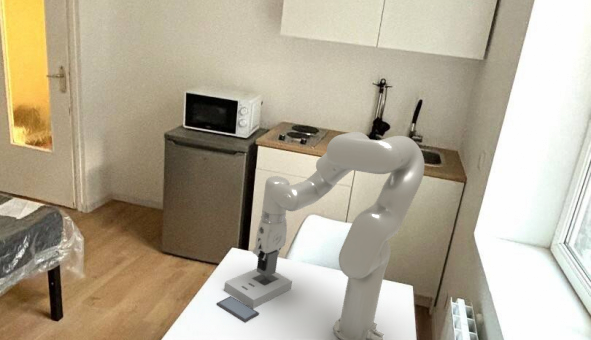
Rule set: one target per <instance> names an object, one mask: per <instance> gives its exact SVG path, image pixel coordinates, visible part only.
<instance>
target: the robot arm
mask: <svg viewBox="0 0 591 340" xmlns="http://www.w3.org/2000/svg"><path fill="white" fill-rule="evenodd" d="M423 155H424V154H423V152H422V149H421V148H420V147H419V144H417V143H416V141H414V139H412V138H410V137H409V136H404V135H394V136H393V135H392V136H390V137H386V138H383V139H377V140H376V139H370V138H369V136H367V134H365V133H364V132H360V131H351V132H347V133H342V134H339V135H336V136H334V137H333V138H331V140H330V141H329V142H328V144H327V147H326V152H325V153H324V154H323V155H322V156H320V157H319V158H318V159H317V160H316V164H315V167H316V171H315V172H314V173H312V174H311V175H310V176H309V177H308V178H307V179H305V180H304V181H302V182H298V183H295V184H290V183H291V182H290V180H288V179H287V178H285V177H282V176H277V175H276V176H269V177H268V178H266V181H265V185H264V193H263V202H262V209H261V215H260V221H259V223H258V227H257V233H256V236H255V238H256V239H255V247H254V248H253V251H252V254H254V255H255V256H257V264H258V266H256V268H257V267H258V268H259V269H261V270H263V271H265V270H266V263H267V260H266V256H267V253H269V252H272V251H275V250H277V251H278V255H279V254H280V251H281V249H282V248H283V247H285V245H286V243H287V242H286V241H287V231H288V230H287V227H288V224H287V218H286V214H287V212H296V211H299V210H301V209H304V208H305V207H308V206H310V205H311V206H312V205H313V204H315V203H317V202H318V201H319V200H320V199H322V198H323V197H324V196H325V195H327V194H328V193H330V191H331V190H333V188H335V186H337V183H339V182H340V181H341V180H342V179H343V178H344V177H346V176H347V175H348V174H349V173H351V172H352V171H356V172H361V173H367V174H373V175H374V174H375V175H386V174H389V175H388V178H387V179H386V180H385V182H384V184H383V185H382V188H381V190H380V193H379V194H378V197H377V198H376V200H375V202H374V203H373V204H372V205H371V206H369V207H367V208H366V209H364V210H362V211H361V212H360V213H358V215H357V216H356V217H355V218H354V220H353V221H352V223H351V226H350V228H349V229H348V232H347V235H346V237H345V239H344V241H343V244H342V246H341V248H340V251H339V254H338V266H339V267H340V271H341V272H342V274H343V275H345V277H347V282H346V287H345V293H344V299H343V305H342V310H341V315H340V318H338V319H337V320H336V321H335V322H334V324H333V332H334V334H335V336H336V337H337V338H338V339H339V340H384V339H383V336H384V333H382V332H380V331H379V330H377V323H375V318H376V312H377V308H378V304H379V298H380V293H381V289H382V284H383V279H384V277H385V274H386V273H385V272H386V271H387V270H386V269H387V266H388V264H389V261H390V257H391V246H390V243H389V241H388V240H389V239H391V238H392V237H394V236H395V235H396V234H397V233H398V232H399V231H400V229H401V226H402V225H403V222H404V221H405V218H406V216H407V214H408V212H409V209H410V208H411V206H412V204H413V201H414V198H415V197H416V195H417V192H418V190H419V188H420V186H421V184H422V181H423V177H424V173H425V159H424V156H423ZM262 252H264V254H262Z"/></svg>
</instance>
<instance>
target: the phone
mask: <svg viewBox="0 0 591 340" xmlns="http://www.w3.org/2000/svg"><path fill="white" fill-rule="evenodd" d="M216 306H217V307H219V308H221V309H222V310H224V311H226V312H227V313H229V314H230V315H232V316H234V317H235V318H237V319H238V320H240V321H242V323H244V324H246V323H247V322H249V321H251V320H253V319H254V318H256V317H257V316H259V315H260V312H259V311H256V310H255V309H254V308H251V307H250V306H248V305H246V304H245V303H243V302H242V301H240V300H239V299H237V298H236V297H234V296H232V295H229V296H228V297H226V298H224V299H222V300H220V301H217V302H216Z"/></svg>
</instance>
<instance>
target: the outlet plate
mask: <svg viewBox="0 0 591 340" xmlns="http://www.w3.org/2000/svg"><path fill="white" fill-rule="evenodd" d="M292 285H293V281H292V280H290V279H289V278H288V277H286V276H284V275H282V274H280V273H278V272H277V271H276V272H275V273H274V274H272V275H270V276H267V277H265V276H264V275H262V274H260V273H258V272H257V268H255V269H252V270H250V271H248V272H245V273H243V274H240V275H239V276H236V277H234V278H232V279H229V280H227V281H224V287H223V291H225V292H226V293H228V294H230V296H232V297H233V298H235V299H237V300H238V301H240V302H242V303H243V304H245V305H247V306H248V307H250V308H252V309H254V308H257V307H259V306H261V305H262V304H264V303H267V302H269V301H271V300H272V299H275V298H276V297H279V296H280V295H282V294H284V293H286V292H288V291H290V290H292Z"/></svg>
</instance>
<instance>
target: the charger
mask: <svg viewBox="0 0 591 340" xmlns="http://www.w3.org/2000/svg"><path fill="white" fill-rule="evenodd" d="M262 254H264V252H262ZM278 256H279V254H278V251H277V250H275V251H272V252H269V253H267V256H266V260H267V263H266V270H265V271H263V270H261V269H259V268H258V267H257V266H258V263H256V265H257V266H256V269H257V272H258V273H260V274H262V275H264V276H265V277H267V276H270V275H272V274H274V273H275V272H277V270H276V269H277V264H278V259H279V258H278Z"/></svg>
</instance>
